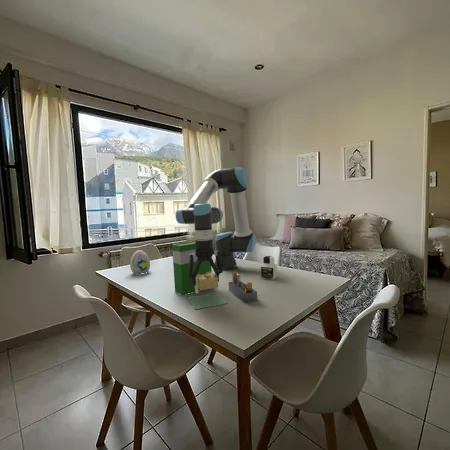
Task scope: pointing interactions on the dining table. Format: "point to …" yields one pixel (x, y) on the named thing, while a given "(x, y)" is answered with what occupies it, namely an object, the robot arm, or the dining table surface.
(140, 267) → the decorative egg
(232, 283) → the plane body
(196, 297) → the mat
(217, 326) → the dining table surface
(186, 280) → the hardback book
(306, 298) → the dining table surface
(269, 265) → the medicine bottle
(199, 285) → the lever cap
